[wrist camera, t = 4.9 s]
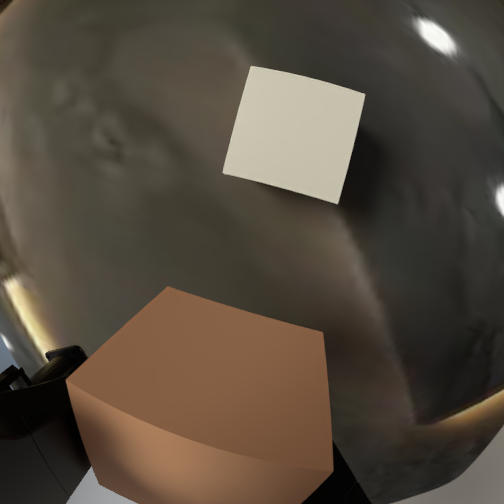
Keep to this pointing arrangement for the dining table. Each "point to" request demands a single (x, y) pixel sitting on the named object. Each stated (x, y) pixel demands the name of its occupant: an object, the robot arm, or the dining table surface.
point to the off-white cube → (294, 133)
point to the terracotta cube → (206, 406)
